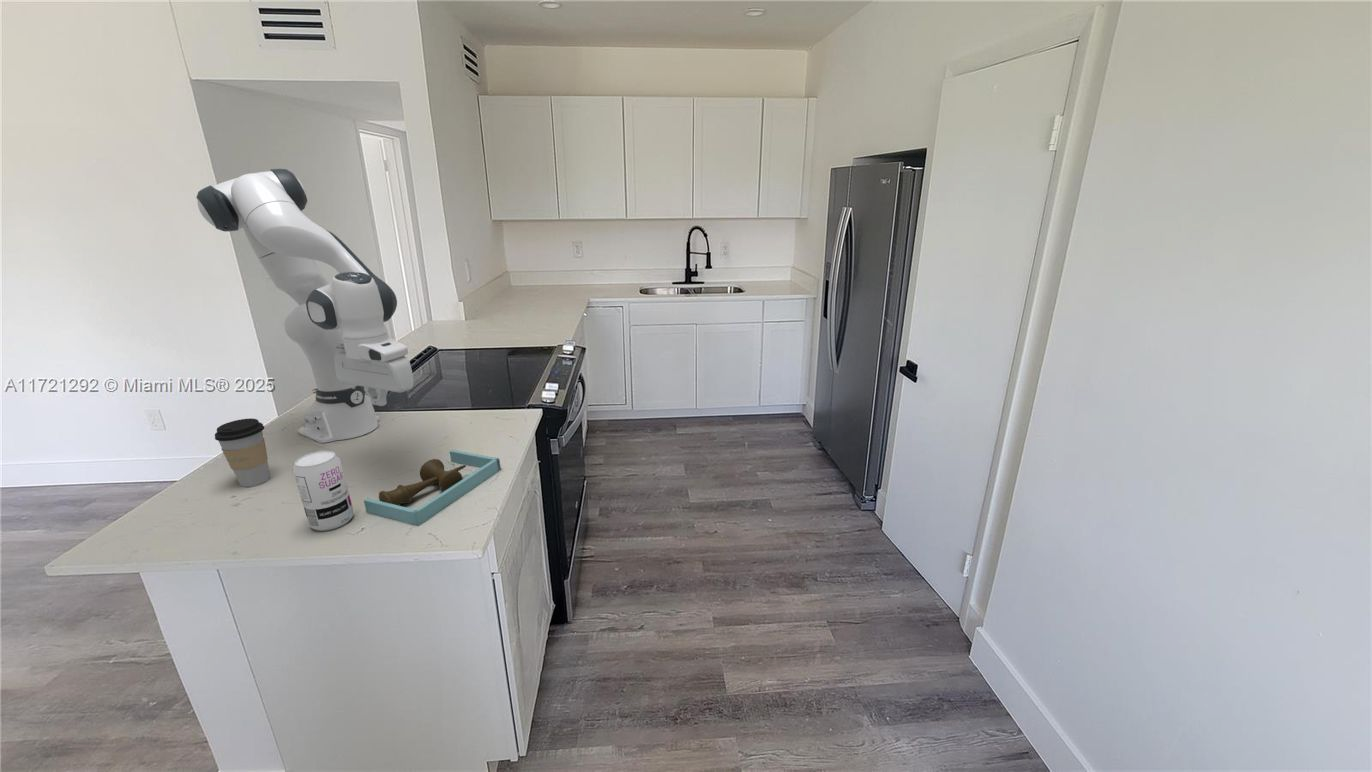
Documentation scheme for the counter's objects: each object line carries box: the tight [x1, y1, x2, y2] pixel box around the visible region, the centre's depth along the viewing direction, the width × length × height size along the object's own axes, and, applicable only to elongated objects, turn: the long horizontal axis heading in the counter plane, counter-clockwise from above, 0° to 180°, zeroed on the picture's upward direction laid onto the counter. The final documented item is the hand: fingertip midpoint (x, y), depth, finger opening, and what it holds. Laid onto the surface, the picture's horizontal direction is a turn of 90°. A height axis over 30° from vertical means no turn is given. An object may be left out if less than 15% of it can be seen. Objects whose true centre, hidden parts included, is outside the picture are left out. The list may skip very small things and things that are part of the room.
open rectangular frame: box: [363, 449, 502, 526], centre depth 129 cm, size 15×26×3 cm, turn 158°
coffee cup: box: [214, 418, 271, 488], centre depth 133 cm, size 9×9×15 cm
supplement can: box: [292, 450, 355, 532], centre depth 115 cm, size 8×8×15 cm
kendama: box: [378, 458, 467, 506], centre depth 127 cm, size 6×10×20 cm
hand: (379, 404), depth 128 cm, fingers closed
